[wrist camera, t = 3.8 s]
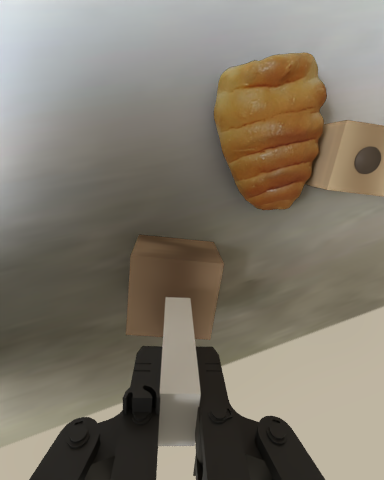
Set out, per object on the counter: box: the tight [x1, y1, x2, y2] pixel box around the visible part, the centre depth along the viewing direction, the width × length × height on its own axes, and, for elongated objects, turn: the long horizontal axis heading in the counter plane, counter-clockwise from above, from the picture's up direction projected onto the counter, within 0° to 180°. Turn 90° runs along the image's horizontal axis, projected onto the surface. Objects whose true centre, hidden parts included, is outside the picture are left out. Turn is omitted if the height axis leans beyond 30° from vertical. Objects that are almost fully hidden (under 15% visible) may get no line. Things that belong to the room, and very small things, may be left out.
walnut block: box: [126, 235, 224, 340], centre depth 19 cm, size 6×6×4 cm
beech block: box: [305, 120, 384, 197], centre depth 17 cm, size 4×4×4 cm
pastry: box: [214, 53, 327, 210], centre depth 16 cm, size 9×7×4 cm
